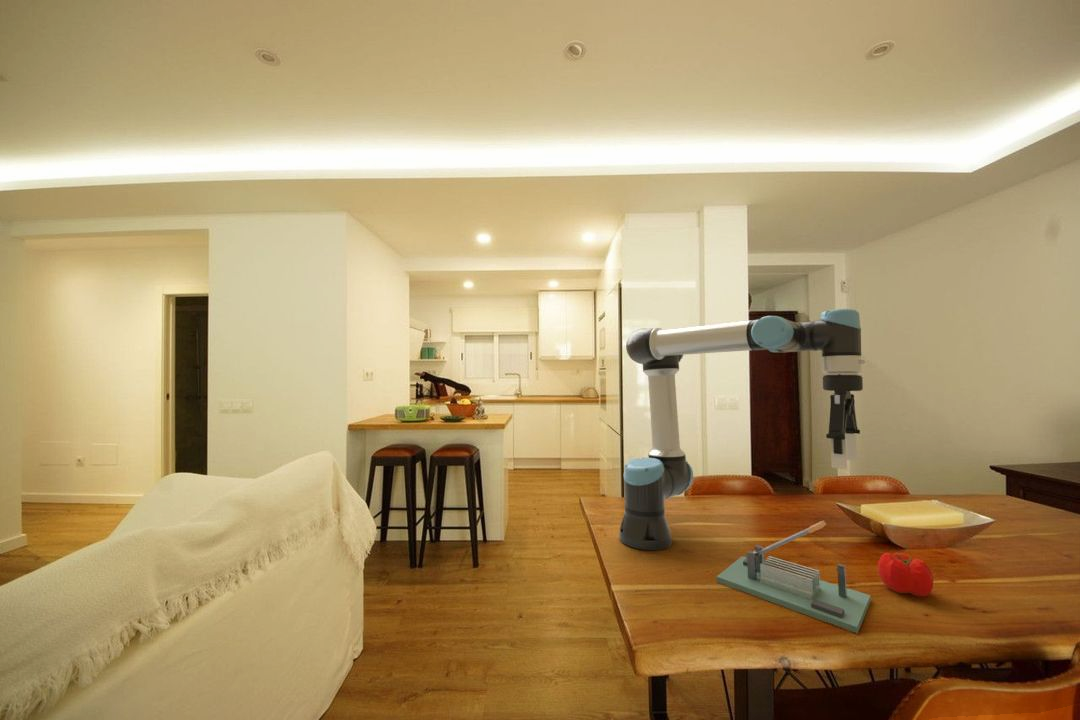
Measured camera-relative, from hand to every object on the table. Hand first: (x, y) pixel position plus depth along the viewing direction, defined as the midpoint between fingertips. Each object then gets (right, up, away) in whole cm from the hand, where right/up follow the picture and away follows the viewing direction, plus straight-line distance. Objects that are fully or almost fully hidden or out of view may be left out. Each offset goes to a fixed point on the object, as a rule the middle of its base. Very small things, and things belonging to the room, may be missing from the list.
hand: (844, 464), depth 91 cm
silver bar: (-15, -26, -5) cm, 31 cm away
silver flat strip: (-16, -17, -4) cm, 24 cm away
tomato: (+11, -28, -5) cm, 30 cm away
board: (-16, -28, -4) cm, 32 cm away
